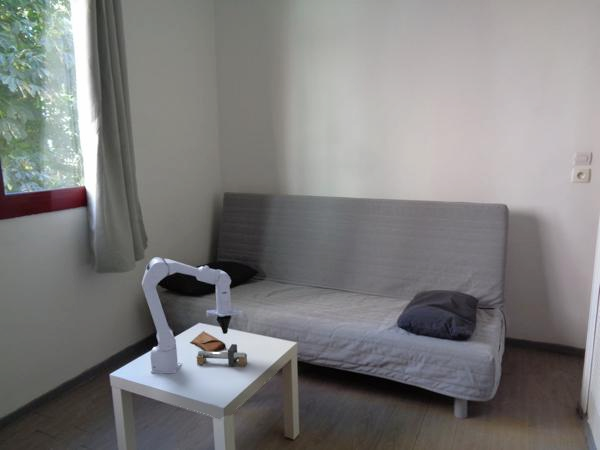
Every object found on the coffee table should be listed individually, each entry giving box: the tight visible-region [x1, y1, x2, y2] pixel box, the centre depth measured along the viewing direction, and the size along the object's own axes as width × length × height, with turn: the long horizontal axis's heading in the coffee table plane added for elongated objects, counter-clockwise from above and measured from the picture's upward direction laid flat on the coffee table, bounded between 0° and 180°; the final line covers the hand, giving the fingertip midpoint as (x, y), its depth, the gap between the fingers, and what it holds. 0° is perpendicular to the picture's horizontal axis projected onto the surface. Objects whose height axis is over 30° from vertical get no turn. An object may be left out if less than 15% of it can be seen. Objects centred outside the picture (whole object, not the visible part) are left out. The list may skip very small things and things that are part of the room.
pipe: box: [196, 350, 248, 368], centre depth 180 cm, size 19×4×5 cm, turn 82°
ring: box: [227, 343, 238, 367], centre depth 179 cm, size 2×6×6 cm, turn 172°
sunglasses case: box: [189, 330, 227, 352], centre depth 198 cm, size 18×7×7 cm, turn 43°
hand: (225, 332), depth 185 cm, fingers closed
